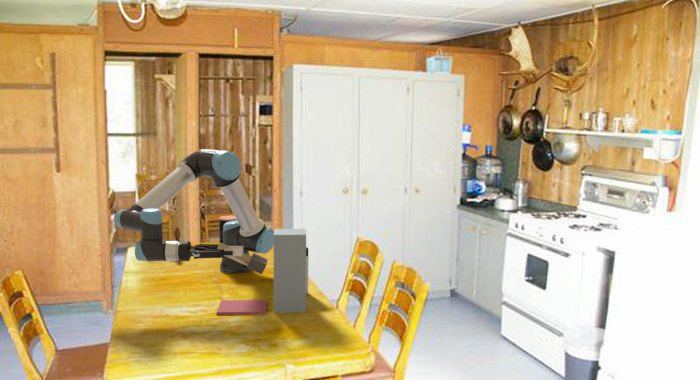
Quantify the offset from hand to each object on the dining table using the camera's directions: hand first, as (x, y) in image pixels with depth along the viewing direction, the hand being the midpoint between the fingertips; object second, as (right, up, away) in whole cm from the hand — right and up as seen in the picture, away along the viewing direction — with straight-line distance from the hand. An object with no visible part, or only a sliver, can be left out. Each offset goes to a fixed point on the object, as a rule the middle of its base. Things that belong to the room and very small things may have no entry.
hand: (242, 251), depth 216 cm
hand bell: (-45, -12, +70) cm, 85 cm away
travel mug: (+20, -20, +21) cm, 36 cm away
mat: (-1, -22, +4) cm, 23 cm away
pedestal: (+17, -22, +5) cm, 29 cm away
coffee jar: (-23, -9, +87) cm, 91 cm away
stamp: (-1, -4, +1) cm, 4 cm away
